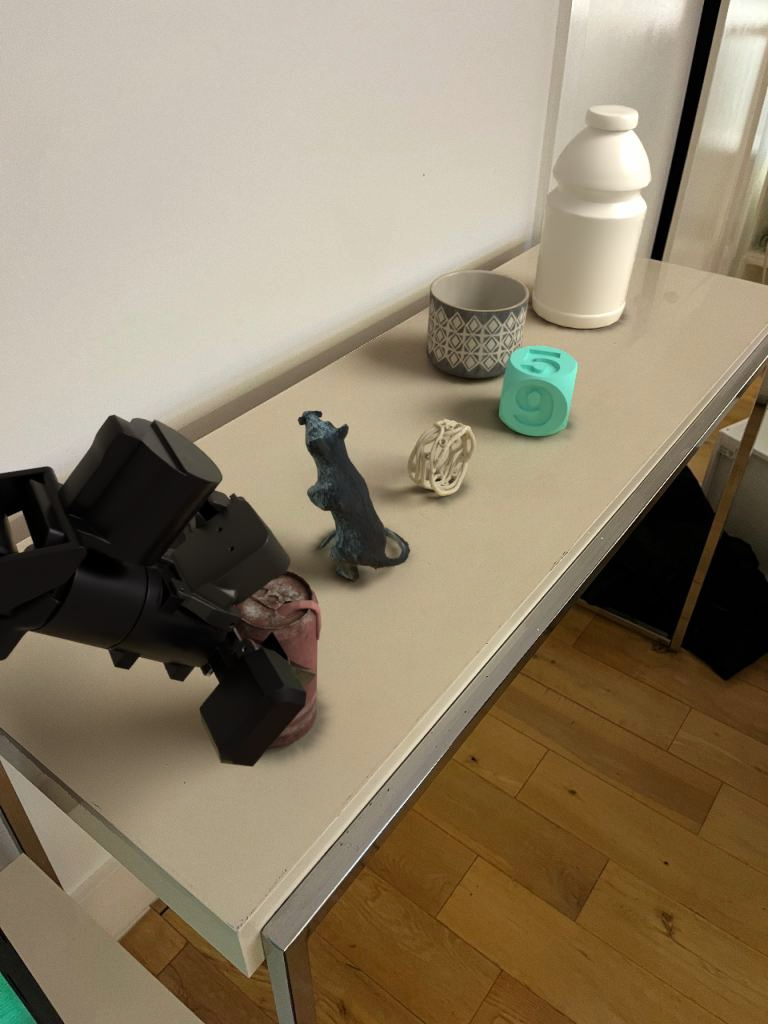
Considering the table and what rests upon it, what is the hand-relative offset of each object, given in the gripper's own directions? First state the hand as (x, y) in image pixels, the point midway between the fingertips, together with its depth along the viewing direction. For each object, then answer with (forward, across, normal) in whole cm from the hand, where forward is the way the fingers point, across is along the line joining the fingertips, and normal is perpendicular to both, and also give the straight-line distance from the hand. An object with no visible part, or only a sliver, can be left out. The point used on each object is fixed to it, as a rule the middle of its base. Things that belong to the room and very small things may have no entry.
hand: (296, 653), depth 57 cm
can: (+4, 0, +6) cm, 8 cm away
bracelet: (+24, +20, -13) cm, 33 cm away
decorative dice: (+36, +25, -26) cm, 51 cm away
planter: (+37, +41, -27) cm, 61 cm away
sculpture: (+14, +14, -4) cm, 21 cm away
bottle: (+53, +46, -44) cm, 83 cm away
